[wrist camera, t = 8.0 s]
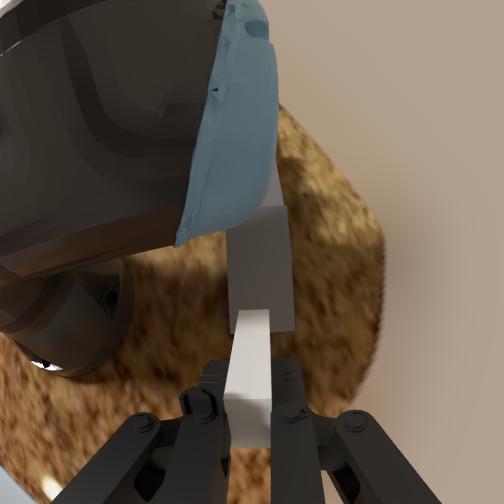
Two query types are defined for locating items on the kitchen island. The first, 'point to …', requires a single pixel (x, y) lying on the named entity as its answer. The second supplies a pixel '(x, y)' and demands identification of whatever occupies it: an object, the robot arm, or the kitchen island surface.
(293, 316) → the domino
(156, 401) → the kitchen island surface
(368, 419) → the robot arm
